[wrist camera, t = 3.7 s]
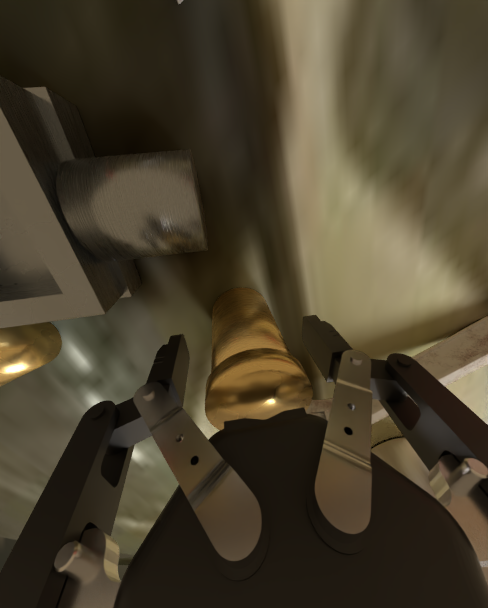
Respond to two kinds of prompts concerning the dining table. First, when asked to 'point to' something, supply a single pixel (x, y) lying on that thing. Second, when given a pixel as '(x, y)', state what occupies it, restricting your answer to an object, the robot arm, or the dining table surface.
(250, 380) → the brass knob
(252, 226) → the dining table surface
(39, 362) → the brass elbow
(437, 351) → the wrench
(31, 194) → the valve body
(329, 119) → the dining table surface
